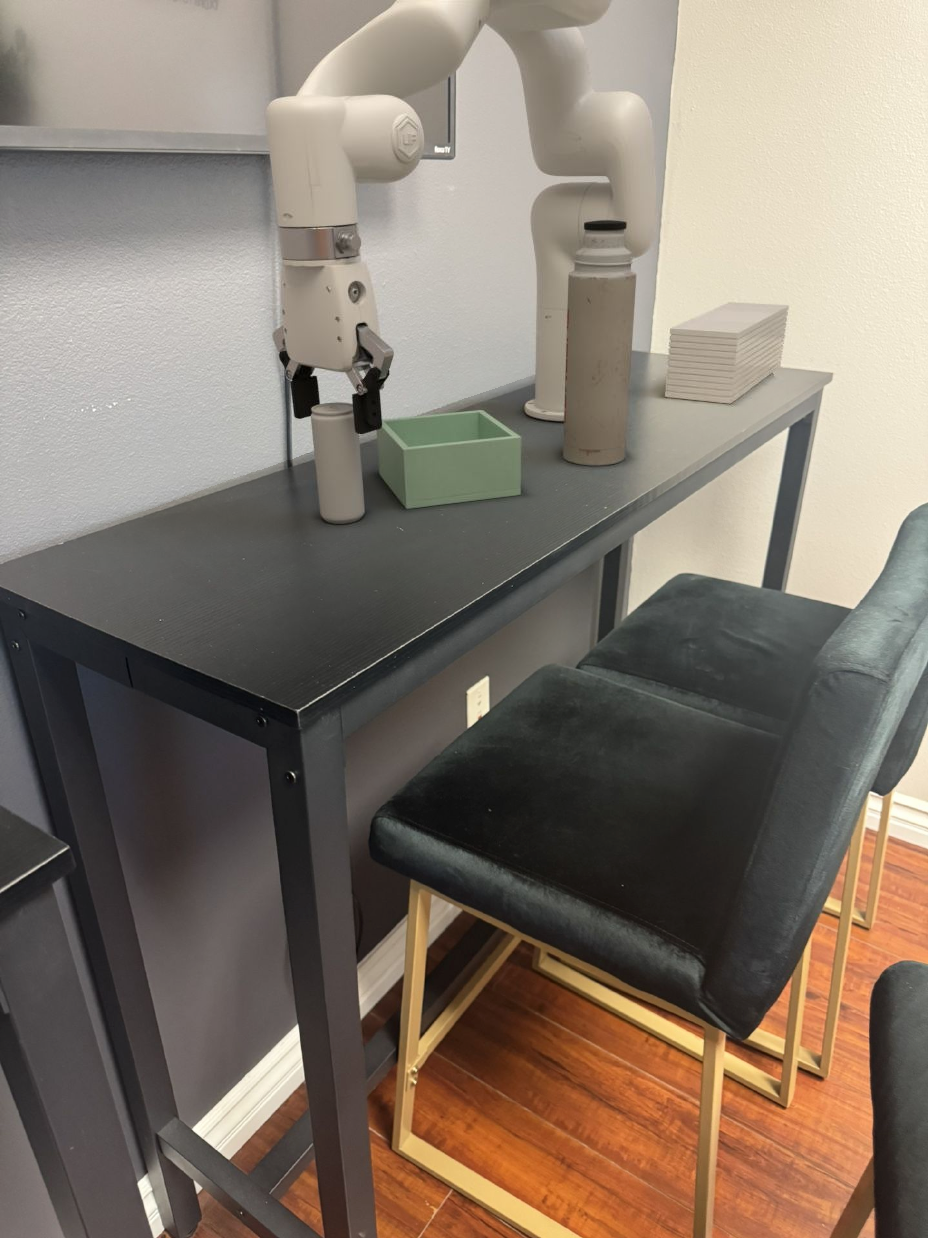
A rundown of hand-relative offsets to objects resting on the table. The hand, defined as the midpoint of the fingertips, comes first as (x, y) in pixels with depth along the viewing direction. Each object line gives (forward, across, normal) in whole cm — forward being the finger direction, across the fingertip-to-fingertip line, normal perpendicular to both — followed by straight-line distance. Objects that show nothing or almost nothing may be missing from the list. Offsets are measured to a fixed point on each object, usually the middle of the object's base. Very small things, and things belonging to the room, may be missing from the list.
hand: (337, 423), depth 93 cm
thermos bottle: (+11, -8, -35) cm, 38 cm away
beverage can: (+10, 0, +1) cm, 10 cm away
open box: (+11, -1, -15) cm, 18 cm away
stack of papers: (+12, 0, -86) cm, 87 cm away
